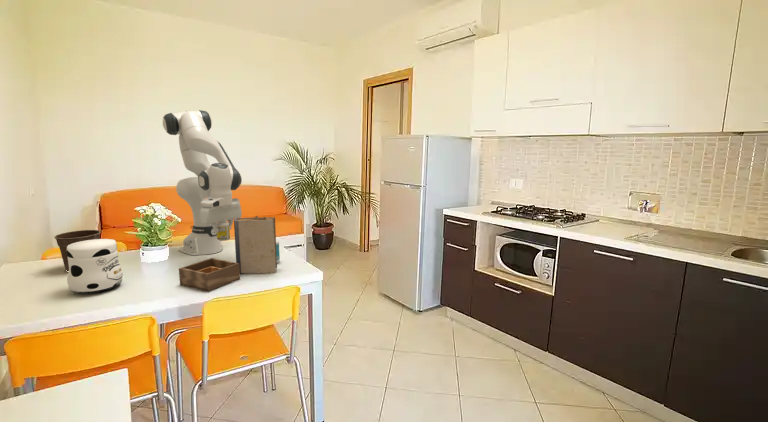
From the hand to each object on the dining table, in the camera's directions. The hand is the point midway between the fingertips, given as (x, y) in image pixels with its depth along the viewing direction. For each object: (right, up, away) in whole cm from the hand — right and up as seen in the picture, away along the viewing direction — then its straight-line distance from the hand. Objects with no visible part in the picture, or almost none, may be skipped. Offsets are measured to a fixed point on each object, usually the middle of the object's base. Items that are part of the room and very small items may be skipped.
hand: (222, 230), depth 178 cm
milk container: (-39, -21, -24) cm, 51 cm away
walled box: (+1, -20, -15) cm, 25 cm away
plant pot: (-62, -17, -1) cm, 65 cm away
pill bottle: (+19, -16, +11) cm, 27 cm away
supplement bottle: (0, -4, +1) cm, 4 cm away
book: (+16, -18, -1) cm, 24 cm away
